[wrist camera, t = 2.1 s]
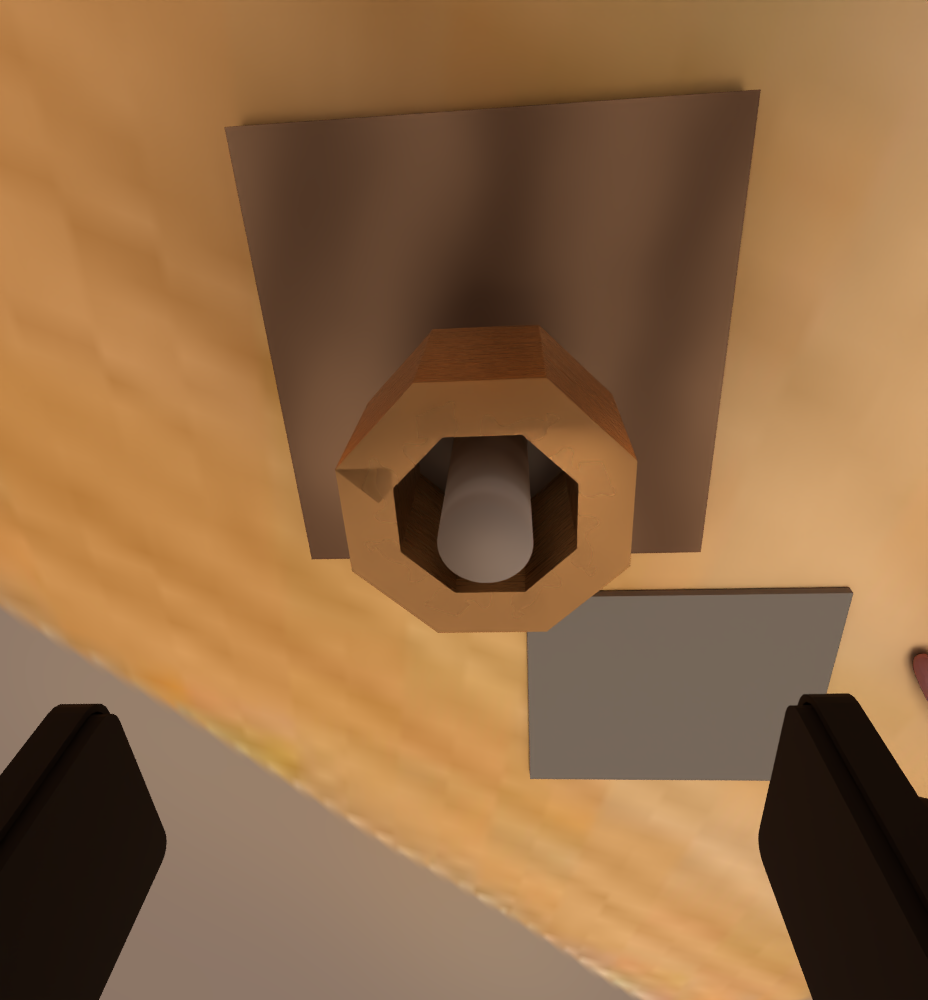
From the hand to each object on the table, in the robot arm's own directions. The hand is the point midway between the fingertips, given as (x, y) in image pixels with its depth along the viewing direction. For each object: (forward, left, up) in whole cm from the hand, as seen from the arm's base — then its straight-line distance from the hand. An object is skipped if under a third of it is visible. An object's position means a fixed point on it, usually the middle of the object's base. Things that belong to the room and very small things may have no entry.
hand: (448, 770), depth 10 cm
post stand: (0, 0, -18) cm, 18 cm away
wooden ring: (0, 0, -10) cm, 10 cm away
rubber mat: (-8, +17, -18) cm, 26 cm away
